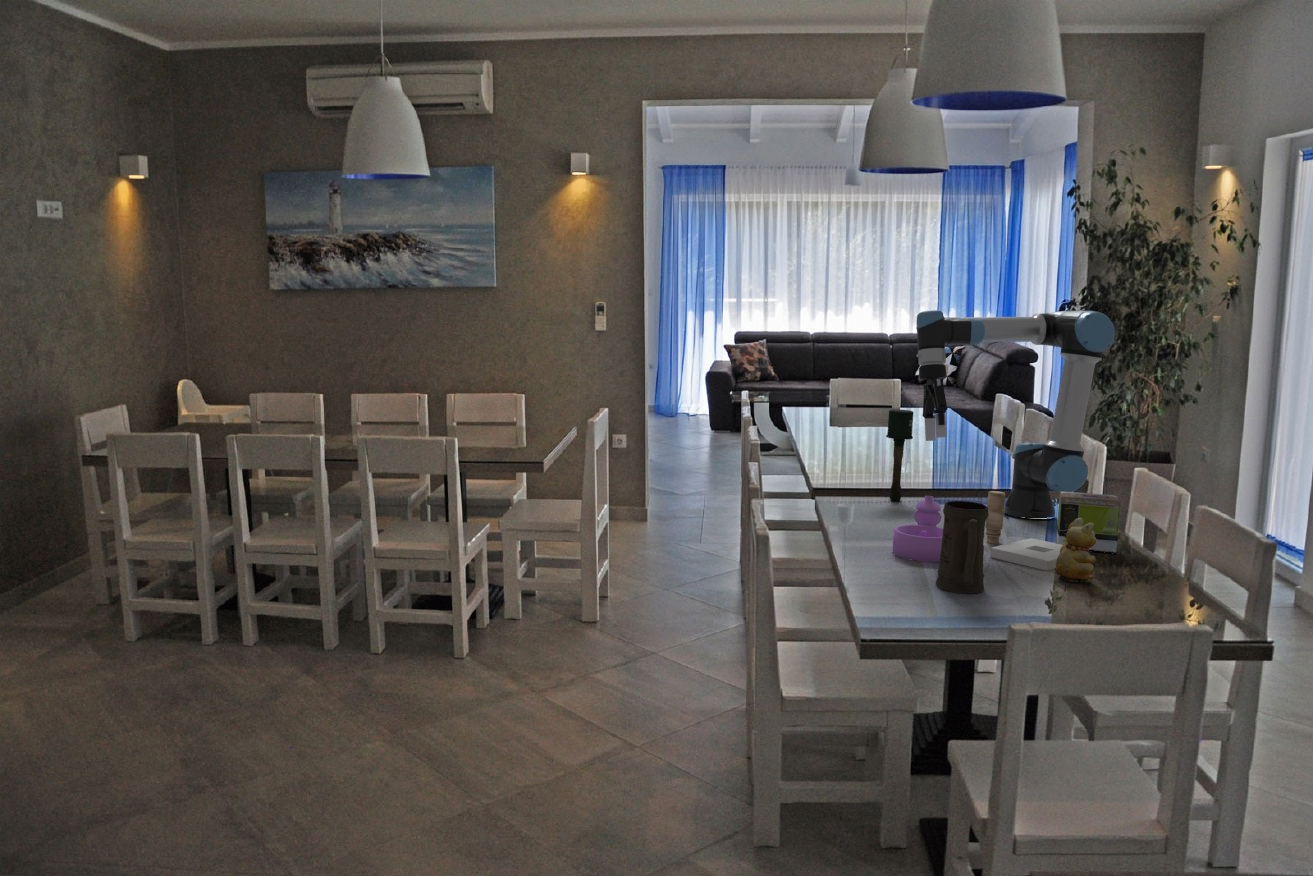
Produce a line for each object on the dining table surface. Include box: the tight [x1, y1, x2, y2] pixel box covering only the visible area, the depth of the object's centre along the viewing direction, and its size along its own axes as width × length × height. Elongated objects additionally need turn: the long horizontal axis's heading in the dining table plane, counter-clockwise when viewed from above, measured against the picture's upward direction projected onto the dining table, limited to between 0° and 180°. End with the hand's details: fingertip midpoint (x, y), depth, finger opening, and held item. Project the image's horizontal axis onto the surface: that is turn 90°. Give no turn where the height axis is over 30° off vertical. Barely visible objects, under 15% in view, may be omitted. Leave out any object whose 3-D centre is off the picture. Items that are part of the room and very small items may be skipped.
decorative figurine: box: [1055, 518, 1097, 583], centre depth 246 cm, size 10×8×15 cm
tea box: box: [1056, 491, 1121, 552], centre depth 281 cm, size 15×10×15 cm
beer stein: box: [935, 500, 989, 595], centre depth 234 cm, size 15×11×20 cm
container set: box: [892, 495, 943, 563], centre depth 271 cm, size 25×15×13 cm, turn 162°
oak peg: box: [985, 490, 1006, 545], centre depth 283 cm, size 4×4×14 cm
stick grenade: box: [885, 408, 914, 502], centre depth 338 cm, size 8×9×30 cm
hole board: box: [989, 537, 1063, 571], centre depth 268 cm, size 20×16×2 cm
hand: (935, 439), depth 291 cm, fingers open, 13 cm apart
